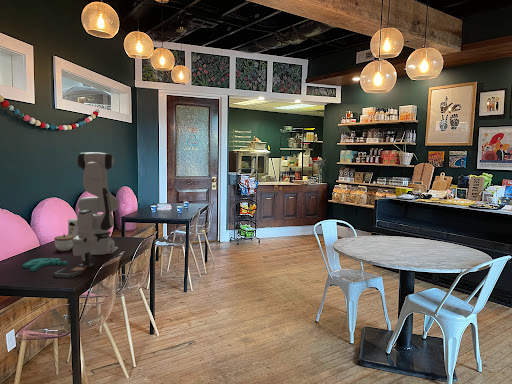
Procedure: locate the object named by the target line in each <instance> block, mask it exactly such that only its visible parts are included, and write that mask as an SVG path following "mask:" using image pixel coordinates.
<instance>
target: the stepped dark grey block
mask: <svg viewBox="0 0 512 384" xmlns="http://www.w3.org/2000/svg"><path fill="white" fill-rule="evenodd" d="M85 257H86V260H85V261H82V263H80V264H78V267H86V268H87V267H88V268H90V267H92V266H94V263H90V262H91V261H90V260H91V259H90V258H91V254H90V253H85Z"/></svg>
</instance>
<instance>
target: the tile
mask: <svg viewBox="0 0 512 384" xmlns="http://www.w3.org/2000/svg"><path fill="white" fill-rule="evenodd" d="M86 269H87V267H82V266H75V267H74V268H72V269H70V272H76V271H78V270H82V272H83V271H84V270H86Z"/></svg>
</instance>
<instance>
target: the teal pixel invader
mask: <svg viewBox="0 0 512 384" xmlns="http://www.w3.org/2000/svg"><path fill="white" fill-rule="evenodd" d="M56 264H57V266H60V265H61V266H67V265H69V264H68V261H67V260H65V261H62V259H61V258H59V257H55V258H54V257H50V258H49V257H46V258H45V257H41V258H35V259H33V258H32V259H30V260H28V261H27V262H25V263H22V268H24V269H29V270H30V272H36V271H37V270H39V269H40V268H42V267H46V265H47V266H51V265H52V266H55V265H56Z"/></svg>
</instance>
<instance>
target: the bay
mask: <svg viewBox="0 0 512 384" xmlns="http://www.w3.org/2000/svg"><path fill="white" fill-rule="evenodd" d="M82 272H83V271H82V270H78V271H73V272H72V273H66V268H62V269H60V270H57V271H54V272H53V273H52V277H53V278H67V279H73V278H74V277H77V276H79V275H81V274H82Z"/></svg>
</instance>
